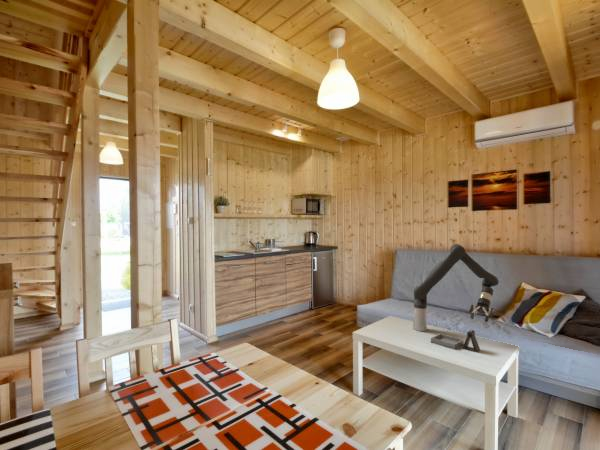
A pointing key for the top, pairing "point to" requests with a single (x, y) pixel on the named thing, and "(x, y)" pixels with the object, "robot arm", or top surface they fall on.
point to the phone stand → (474, 342)
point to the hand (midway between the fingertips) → (478, 320)
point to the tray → (447, 341)
